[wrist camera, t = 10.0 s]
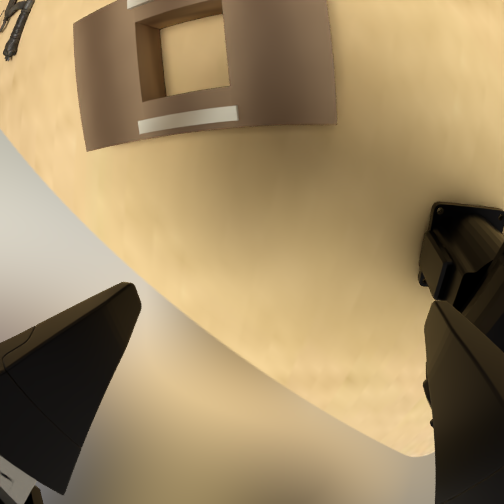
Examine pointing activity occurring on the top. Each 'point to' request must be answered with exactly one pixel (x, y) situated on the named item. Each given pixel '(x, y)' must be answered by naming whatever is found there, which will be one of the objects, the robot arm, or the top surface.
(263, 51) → the socket block
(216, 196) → the top surface
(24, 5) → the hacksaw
